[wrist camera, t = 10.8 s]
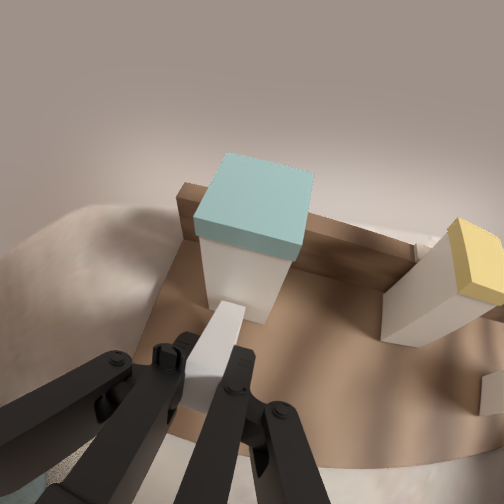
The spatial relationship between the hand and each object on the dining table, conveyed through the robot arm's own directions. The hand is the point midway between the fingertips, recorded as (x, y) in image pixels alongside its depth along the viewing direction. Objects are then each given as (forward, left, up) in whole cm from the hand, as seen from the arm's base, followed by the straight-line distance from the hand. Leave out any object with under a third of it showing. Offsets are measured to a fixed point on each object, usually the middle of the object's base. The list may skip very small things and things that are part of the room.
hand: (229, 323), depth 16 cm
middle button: (-13, -4, -3) cm, 14 cm away
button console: (-13, 0, -4) cm, 14 cm away
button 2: (0, -3, -3) cm, 4 cm away
